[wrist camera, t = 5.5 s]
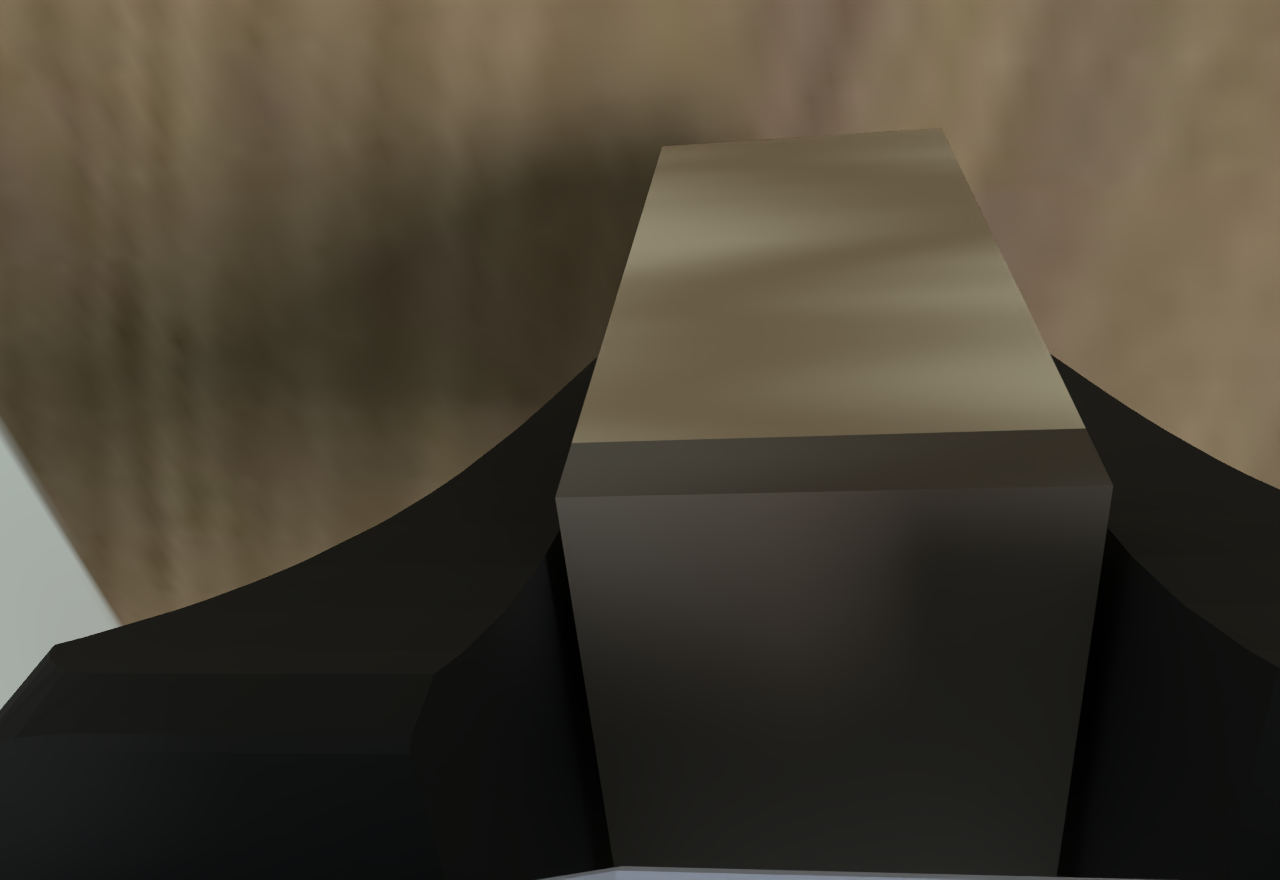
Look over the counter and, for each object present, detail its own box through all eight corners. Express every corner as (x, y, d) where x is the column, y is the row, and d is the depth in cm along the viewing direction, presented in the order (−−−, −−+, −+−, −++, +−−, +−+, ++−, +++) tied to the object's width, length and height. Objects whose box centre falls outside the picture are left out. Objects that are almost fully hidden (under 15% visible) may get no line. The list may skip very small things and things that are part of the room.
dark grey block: (941, 128, 12) (1113, 485, 6) (924, 514, 14) (1032, 1040, 8) (662, 146, 12) (554, 496, 6) (693, 518, 15) (638, 1024, 9)
